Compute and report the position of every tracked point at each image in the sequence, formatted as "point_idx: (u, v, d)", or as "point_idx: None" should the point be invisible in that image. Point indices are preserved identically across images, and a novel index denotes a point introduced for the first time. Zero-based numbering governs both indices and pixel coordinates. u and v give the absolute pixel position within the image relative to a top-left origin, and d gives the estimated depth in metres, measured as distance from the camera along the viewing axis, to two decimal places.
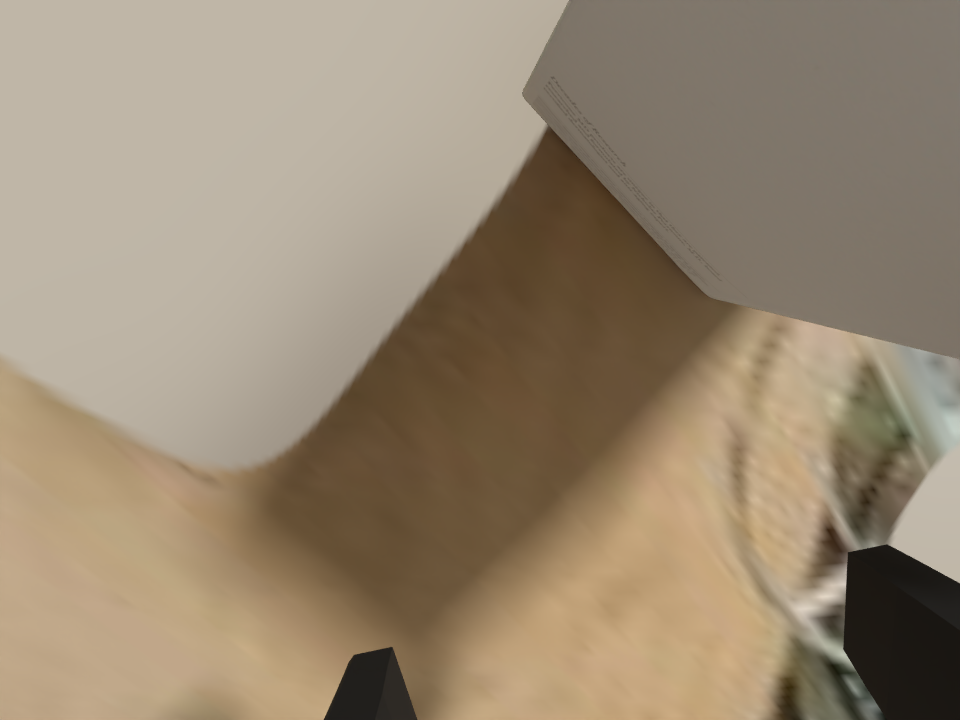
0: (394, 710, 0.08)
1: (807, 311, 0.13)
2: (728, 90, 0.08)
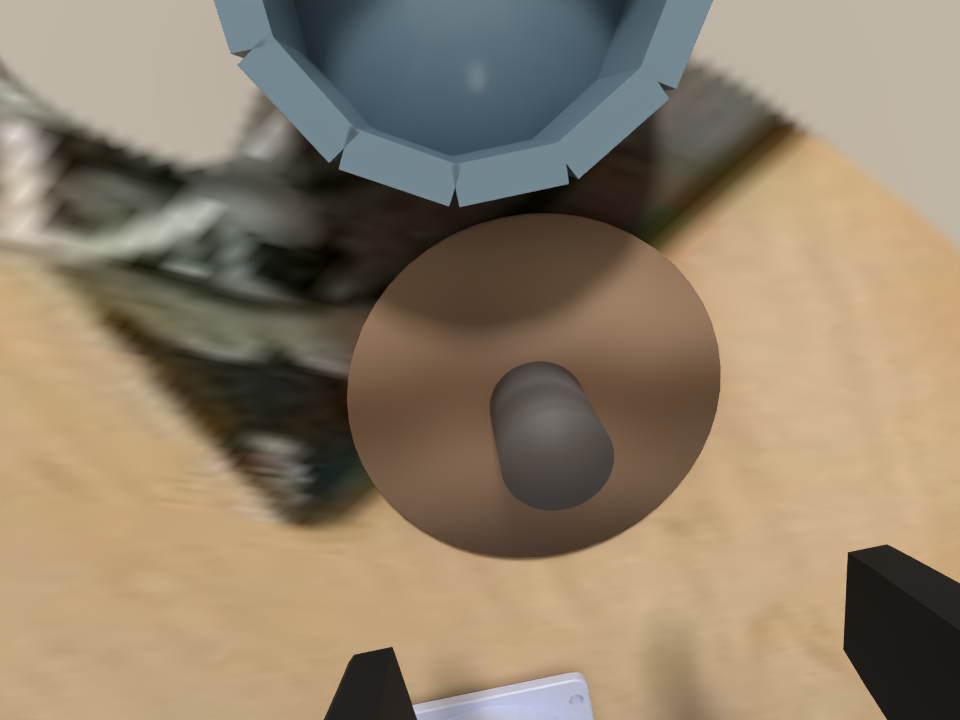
0: (394, 710, 0.08)
1: None
2: None
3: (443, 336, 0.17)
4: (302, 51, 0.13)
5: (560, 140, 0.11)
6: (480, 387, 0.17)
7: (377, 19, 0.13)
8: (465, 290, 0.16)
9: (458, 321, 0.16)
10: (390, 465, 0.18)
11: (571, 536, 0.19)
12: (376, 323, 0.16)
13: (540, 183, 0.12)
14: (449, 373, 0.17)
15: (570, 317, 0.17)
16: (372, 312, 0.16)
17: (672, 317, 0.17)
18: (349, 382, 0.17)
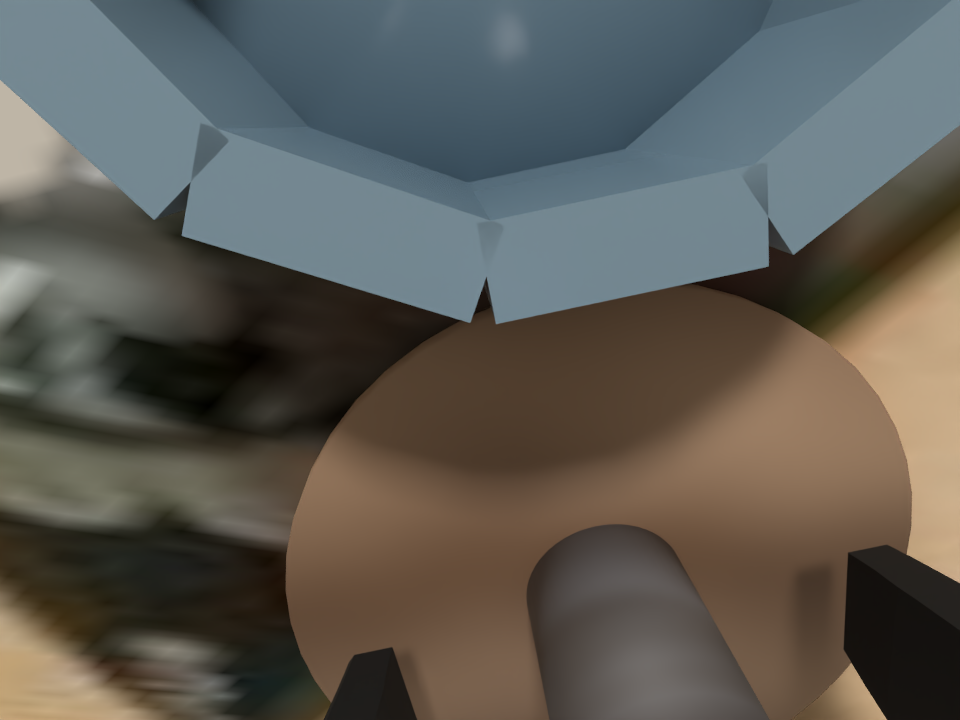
0: (394, 710, 0.08)
1: None
2: None
3: (449, 490, 0.10)
4: None
5: (759, 159, 0.04)
6: (511, 565, 0.10)
7: None
8: (489, 415, 0.09)
9: (476, 465, 0.09)
10: None
11: None
12: (333, 470, 0.09)
13: (699, 266, 0.05)
14: (459, 545, 0.10)
15: (669, 455, 0.10)
16: (324, 453, 0.09)
17: (842, 452, 0.10)
18: (288, 563, 0.10)
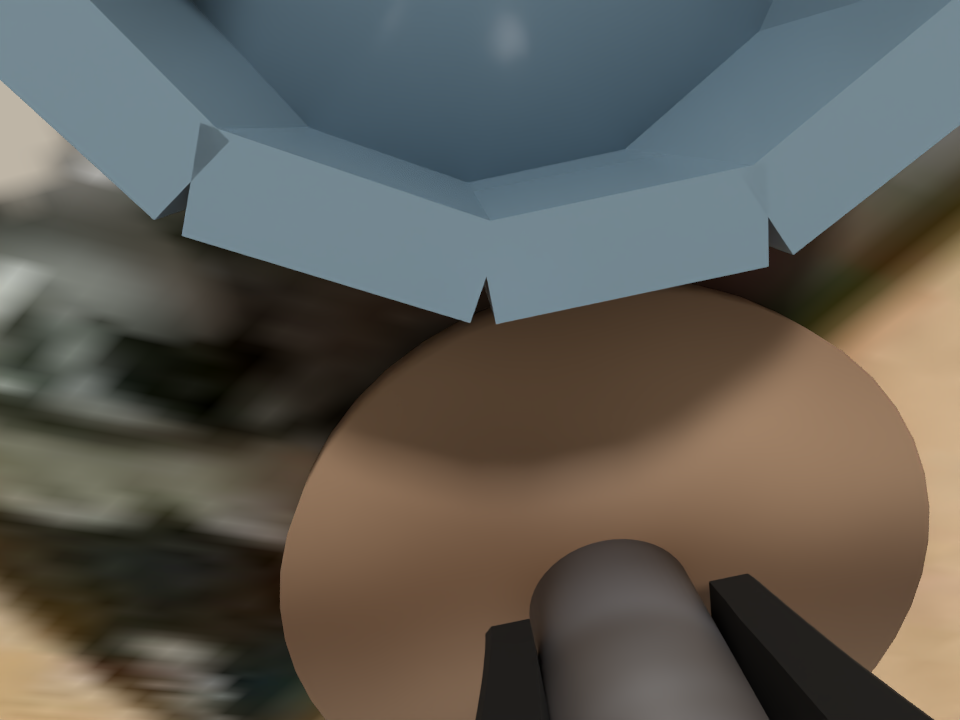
0: (540, 680, 0.08)
1: None
2: None
3: (449, 504, 0.09)
4: None
5: (759, 159, 0.04)
6: (514, 581, 0.10)
7: None
8: (490, 427, 0.09)
9: (478, 479, 0.09)
10: (359, 700, 0.11)
11: None
12: (328, 484, 0.09)
13: (699, 266, 0.05)
14: (460, 561, 0.10)
15: (678, 468, 0.09)
16: (319, 466, 0.09)
17: (857, 464, 0.09)
18: (282, 580, 0.09)
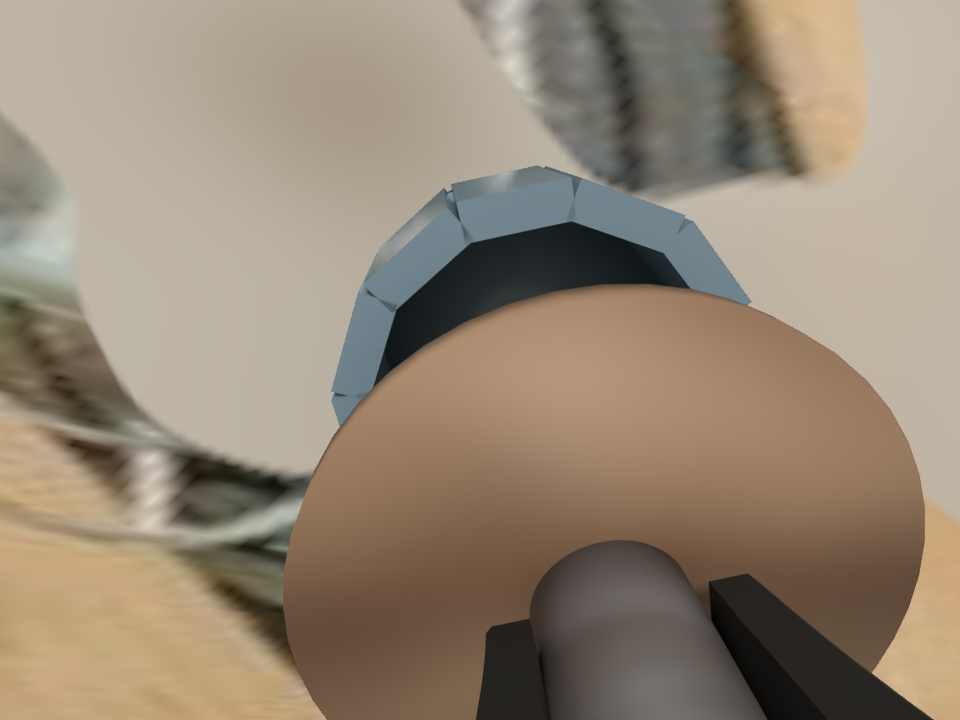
0: None
1: None
2: None
3: (450, 505, 0.09)
4: None
5: None
6: (514, 582, 0.10)
7: None
8: (491, 428, 0.09)
9: (478, 480, 0.09)
10: (361, 701, 0.11)
11: None
12: (331, 485, 0.09)
13: None
14: (461, 562, 0.10)
15: (676, 469, 0.09)
16: (323, 467, 0.09)
17: (853, 466, 0.10)
18: (286, 580, 0.10)
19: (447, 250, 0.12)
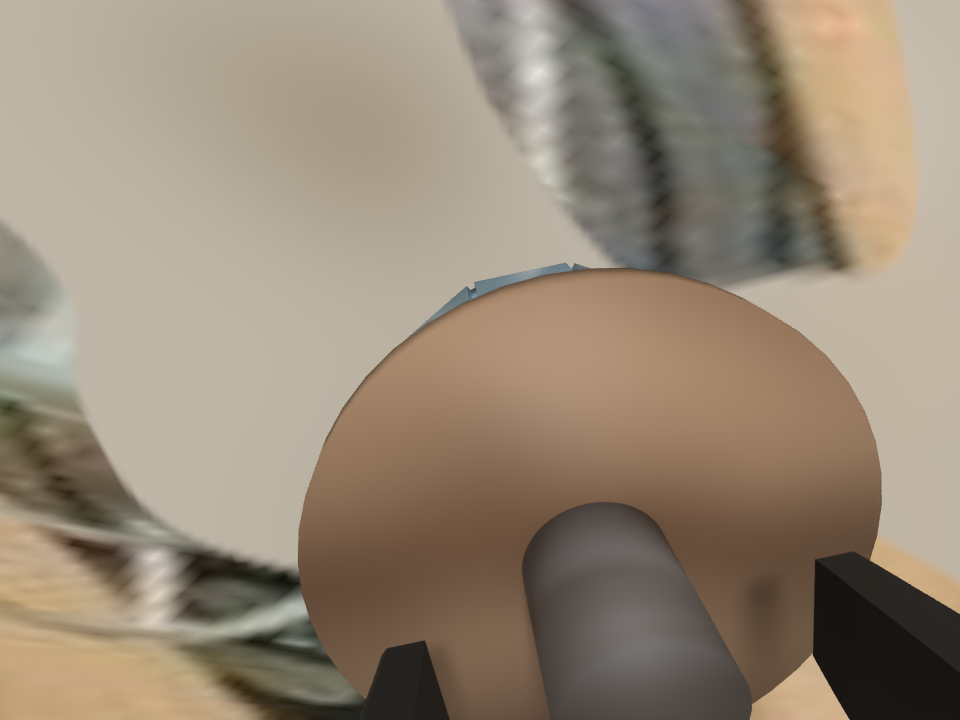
0: (429, 703, 0.08)
1: None
2: None
3: (449, 468, 0.10)
4: None
5: None
6: (507, 541, 0.11)
7: None
8: (486, 399, 0.10)
9: (475, 446, 0.10)
10: (368, 651, 0.12)
11: None
12: (342, 450, 0.10)
13: None
14: (459, 522, 0.11)
15: (654, 437, 0.10)
16: (334, 434, 0.10)
17: (815, 434, 0.11)
18: (300, 538, 0.11)
19: None
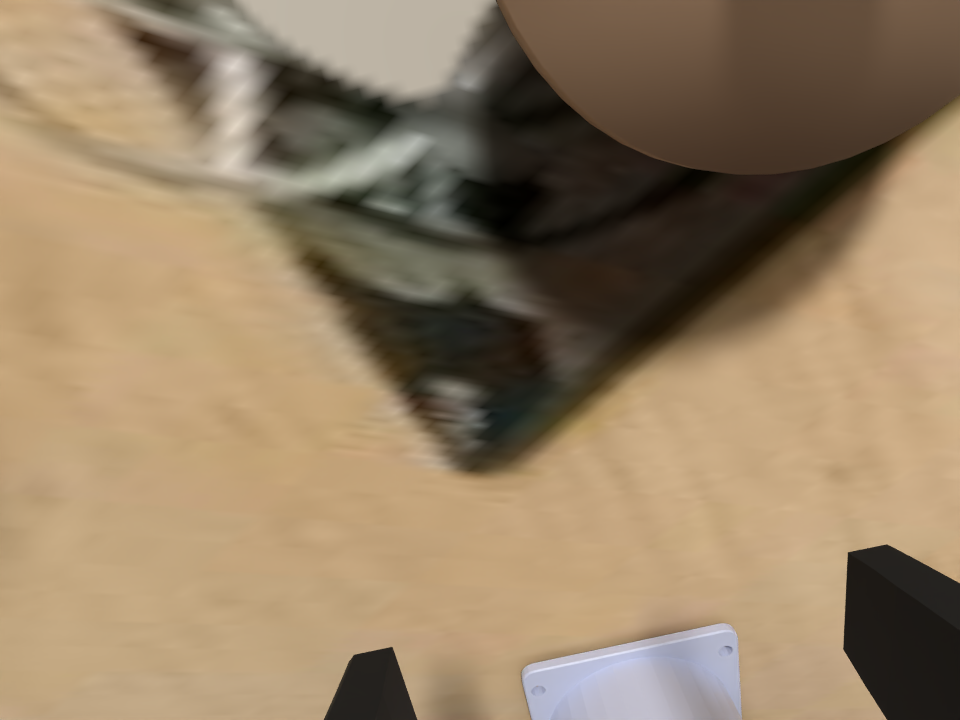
0: (394, 710, 0.08)
1: None
2: None
3: None
4: None
5: None
6: None
7: None
8: None
9: None
10: None
11: (830, 131, 0.11)
12: None
13: None
14: None
15: None
16: None
17: None
18: None
19: None
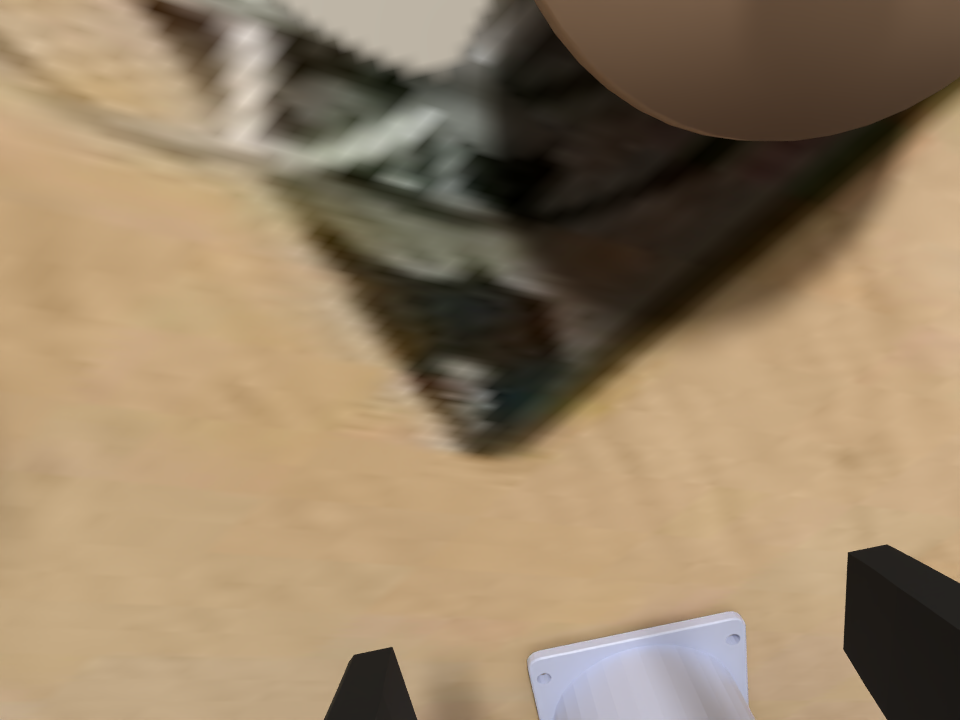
0: (394, 710, 0.08)
1: None
2: None
3: None
4: None
5: None
6: None
7: None
8: None
9: None
10: None
11: (850, 98, 0.11)
12: None
13: None
14: None
15: None
16: None
17: None
18: None
19: None
